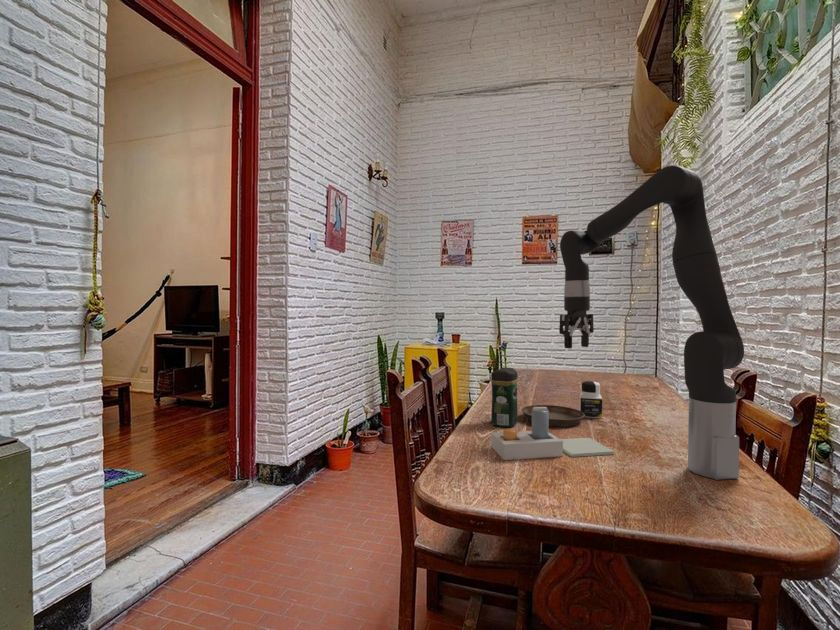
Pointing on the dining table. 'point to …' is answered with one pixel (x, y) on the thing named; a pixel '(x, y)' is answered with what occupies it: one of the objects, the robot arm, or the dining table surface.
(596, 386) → the medicine bottle
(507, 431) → the orange rounded piece
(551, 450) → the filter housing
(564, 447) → the pad
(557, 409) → the plant saucer
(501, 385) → the coffee jar
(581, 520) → the dining table surface
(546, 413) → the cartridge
